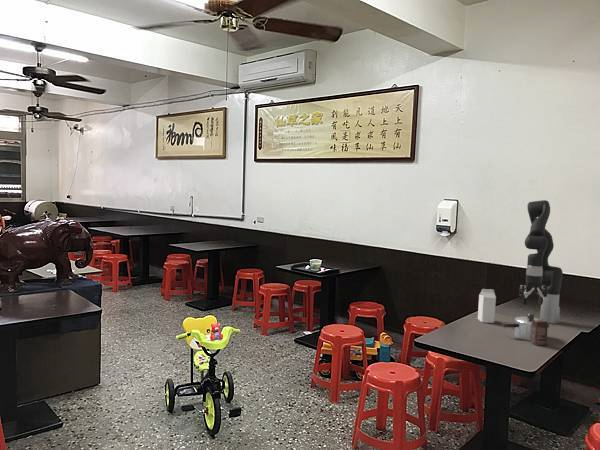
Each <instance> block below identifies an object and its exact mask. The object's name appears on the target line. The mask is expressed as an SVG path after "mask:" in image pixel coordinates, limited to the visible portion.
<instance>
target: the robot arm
mask: <svg viewBox="0 0 600 450" xmlns="http://www.w3.org/2000/svg"><path fill="white" fill-rule="evenodd" d="M527 212H528V216H529V220H530V223H531V225H530V230H529V233H528V235H527V236H526V238H525V240H524V246H525V247H526V248H527V249H528V250H534V251H536V252H535V253H529V254H528V255H527V265H526V271H525V272H526V273H525V284H524V285H523V284H520V285H519V288H518V289H519V290H518V296H519V297H521V298H522V299H521V301H522V302H521V304H522V305H523V306H527V302H528V296H530V295H533V294H535V295H536V294H537V296H538V301H537V304H538V305H539V306H540V313H539V319H541V320H545V321H547V322H548V324H549V325H550V324H552V325H553V324H554V325H555V324H559V323H560V315H561V307H560V306H559V305H560V293H561V289H562V282H563V276H564V275H563V269H562V268H561V267H559V266H553V265H550V264H549V257H550V255H551V254H552V252H553V251H554V239H553V236H552V234H551V233H550V232H549V231H548V230H547V229H546V226H547V224H548V220H549V218H550V214H551V206H550V202H549V201H548V200H545V199H543V200H535V201H529V202H528V203H527ZM543 281H545V282H549V283H550V285H545V284H543Z"/></svg>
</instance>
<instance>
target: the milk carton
mask: <svg viewBox="0 0 600 450" xmlns="http://www.w3.org/2000/svg"><path fill="white" fill-rule="evenodd" d="M496 302H497V296H496V293H495V289H491V288H489V289H487V288H482V289H481V291H480V293H479V295H478V308H477V310H478V311H477V320H478V321H480V322H481V323H486V324H487V323H488V324H489V323H490V324H495V316H496V315H495V314H496Z"/></svg>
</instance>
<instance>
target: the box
mask: <svg viewBox="0 0 600 450" xmlns="http://www.w3.org/2000/svg"><path fill="white" fill-rule="evenodd" d="M548 324H549V323H548V322H547V321H545V320H532V336H531V342H530V343H531V345H532V344H533V345H534V346H547V344H548V328H549V327H548Z"/></svg>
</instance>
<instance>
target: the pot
mask: <svg viewBox="0 0 600 450" xmlns="http://www.w3.org/2000/svg"><path fill="white" fill-rule="evenodd" d="M501 327H503V328H514V337H515V338H516V337H517V338H518V339H521V340H525V341H531V336H532V326H531V325H525V324H521V323H518V322H516V321H515V322H501ZM549 327H550V323H548V328H549Z"/></svg>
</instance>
